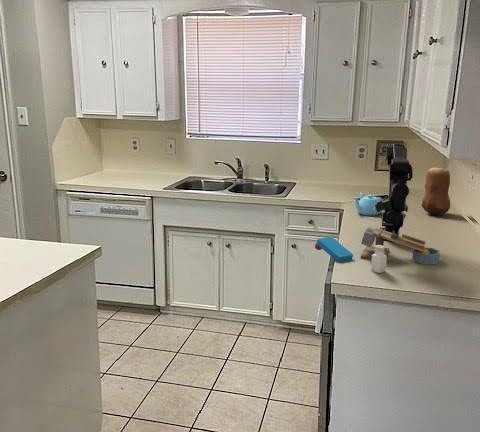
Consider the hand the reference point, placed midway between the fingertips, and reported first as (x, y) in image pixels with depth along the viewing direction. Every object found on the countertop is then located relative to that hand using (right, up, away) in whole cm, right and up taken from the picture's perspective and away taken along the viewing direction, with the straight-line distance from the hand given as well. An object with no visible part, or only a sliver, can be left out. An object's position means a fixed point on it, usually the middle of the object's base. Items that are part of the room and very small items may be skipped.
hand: (396, 233), depth 189 cm
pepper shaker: (-11, -14, -13) cm, 22 cm away
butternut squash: (+43, +7, +68) cm, 80 cm away
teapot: (+8, +8, +72) cm, 73 cm away
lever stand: (-7, -9, +5) cm, 12 cm away
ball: (+10, -8, -3) cm, 13 cm away
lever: (-24, -9, +6) cm, 27 cm away
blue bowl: (+11, -10, -2) cm, 15 cm away
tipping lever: (-2, -7, +2) cm, 7 cm away
